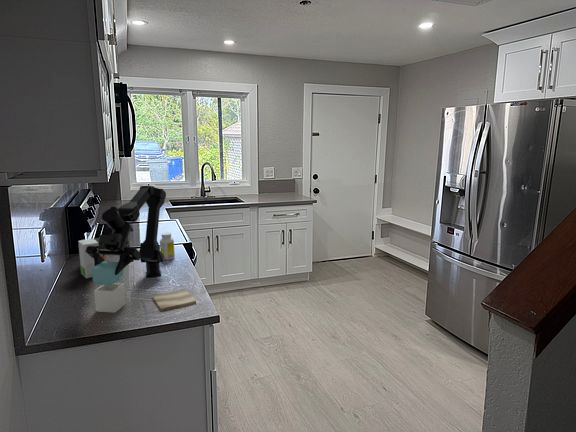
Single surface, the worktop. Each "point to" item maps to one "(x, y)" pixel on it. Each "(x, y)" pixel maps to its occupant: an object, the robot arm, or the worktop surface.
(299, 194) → the worktop surface
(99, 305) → the cream storage box
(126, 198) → the worktop surface
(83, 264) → the skincare box
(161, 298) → the oak board
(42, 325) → the worktop surface
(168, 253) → the supplement bottle
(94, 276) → the aqua cube
